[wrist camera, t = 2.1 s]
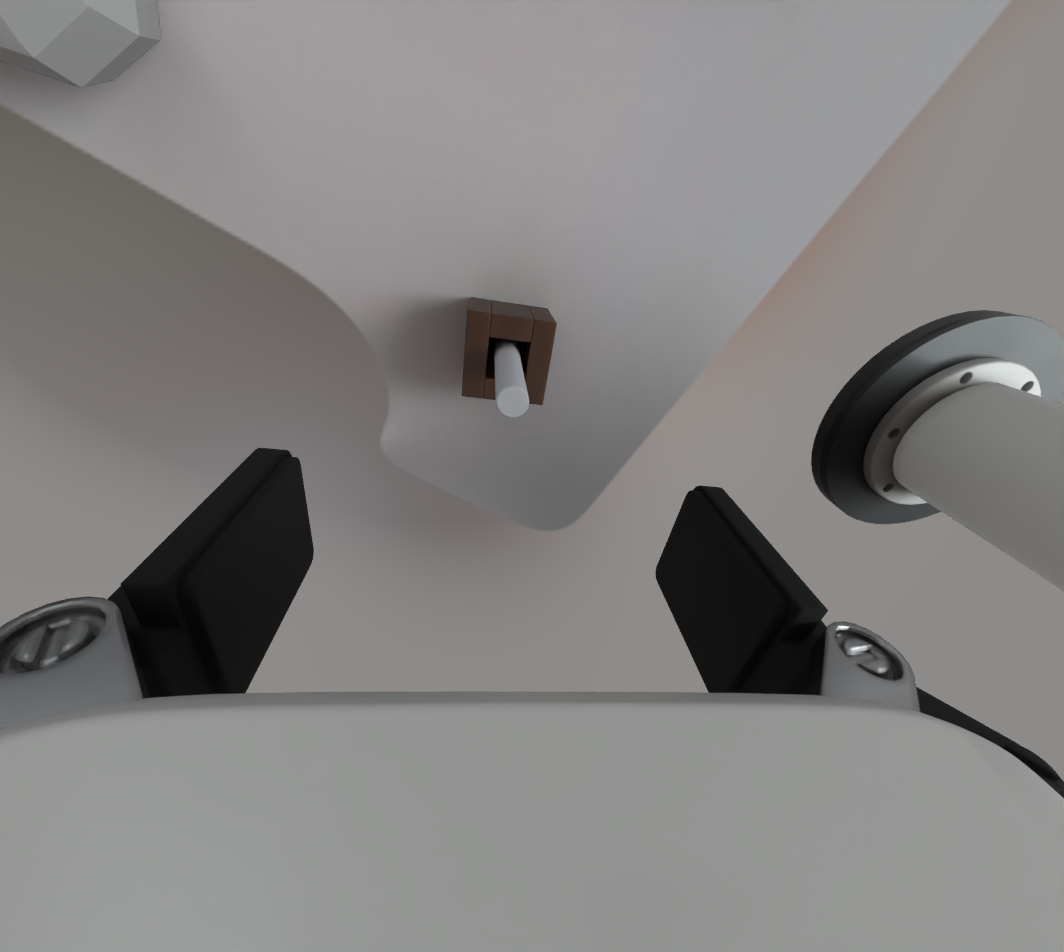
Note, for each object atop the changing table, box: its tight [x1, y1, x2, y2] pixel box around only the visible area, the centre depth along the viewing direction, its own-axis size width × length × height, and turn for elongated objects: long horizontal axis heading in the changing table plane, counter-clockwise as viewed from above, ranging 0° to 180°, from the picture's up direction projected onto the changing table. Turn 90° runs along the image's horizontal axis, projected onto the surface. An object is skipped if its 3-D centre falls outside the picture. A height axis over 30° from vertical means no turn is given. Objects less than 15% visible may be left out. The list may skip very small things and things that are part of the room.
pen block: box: [462, 297, 557, 405], centre depth 24 cm, size 5×5×4 cm
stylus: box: [494, 338, 529, 417], centre depth 22 cm, size 1×1×10 cm
